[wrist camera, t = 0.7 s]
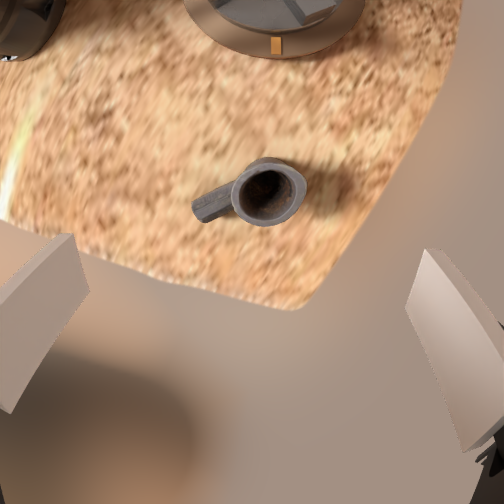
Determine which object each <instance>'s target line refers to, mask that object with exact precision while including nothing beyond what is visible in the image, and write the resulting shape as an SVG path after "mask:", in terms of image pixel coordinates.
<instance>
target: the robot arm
mask: <svg viewBox="0 0 504 504" xmlns="http://www.w3.org/2000/svg"><path fill="white" fill-rule="evenodd" d="M65 3H66V0H0V60H2V61H6V62H18V61H23V60H25V59H27V58H29V57H31V56H32V55H34V54H35V53H36V52H37V51H38V50H39V49H40V48H41V47H42V46H43V45H44V44H45V43H46V42H47V40H48V39H49V37H50V36H51V35H52V33H53V31H54V30H55V28H56V26H57V24H58V22H59V20H60V18H61V16H62V13H63V10H64V7H65ZM89 292H90V290H89V287H88V284H87V281H86V278H85V274H84V271H83V268H82V264H81V261H80V257H79V253H78V250H77V246H76V242H75V238H74V234H70V233H59V234H58V235H57V236H56V237H55V238H53V239H52V240H51V241H50V242H49V243H48V244H46V245H45V246H44V247H43V248H42V249H41V250H40V251H39V252H37V253H36V254H35V255H34V256H33V257H32V258H31V259H30V260H29V261H28V262H26V264H24V266H23V267H21V268H20V269H19V270H18V271H17V272H16V273H15V274H14V275H13V276H12V277H11V278H10V279H9V280H8V281H7V282H6V283H5V284H4V285H3V286H2V287H1V288H0V408H1V409H2V410H4V411H6V412H7V413H9V414H11V413H12V411H13V409H14V407H15V405H16V404H17V402H18V400H19V398H20V396H21V395H22V393H23V391H24V389H25V388H26V386H27V384H28V383H29V381H30V379H31V378H32V376H33V374H34V373H35V371H36V369H37V368H38V366H39V365H40V363H41V361H42V360H43V358H44V357H45V355H46V354H47V352H48V350H49V349H50V347H51V346H52V344H53V343H54V341H55V340H56V338H57V337H58V335H59V334H60V332H61V331H62V330H63V328H64V326H65V325H66V324H67V322H68V321H69V320H70V318H71V317H72V315H73V314H74V313H75V311H76V310H77V308H78V307H79V306H80V304H81V303H82V302H83V300H84V299H85V297H86V296H87V295H88V293H89ZM405 310H406V312H407V314H408V316H409V318H410V320H411V322H412V324H413V327H414V328H415V331H416V333H417V335H418V337H419V339H420V341H421V344H422V346H423V348H424V350H425V353H426V355H427V357H428V360H429V362H430V364H431V367H432V369H433V371H434V374H435V376H436V379H437V381H438V384H439V386H440V389H441V391H442V394H443V396H444V399H445V402H446V404H447V407H448V410H449V413H450V415H451V418H452V421H453V424H454V427H455V430H456V433H457V436H458V439H459V442H460V446H461V449H462V452H463V453H465V452H467V451H470V450H473V449H475V448H478V447H481V446H482V445H483V444H484V443H486V442H487V441H488V440H489V439H490V438H491V437H492V436H494V439H495V442H494V443H493V444H492V445H491V446H490V447H489V448H487V449H486V450H485V451H484V452H483V453H482V454H480V455H479V456H478V457H477V459H476V461H475V462H477V463H478V462H479V461H480V460H482V459H483V458H484V457H485V456H487V459H485V460H484V461H483V462H482V463H481V465H484V468H483V470H482V473H481V476H480V479H479V482H478V484H477V487H476V489H475V492H474V494H473V497H472V499H471V501H470V504H504V326H503V325H501V324H500V323H499V322H498V321H497V320H496V318H495V317H494V316H493V315H492V313H491V312H490V310H489V309H488V307H487V306H486V305H485V303H484V302H483V300H482V299H481V298H480V296H479V295H478V294H477V293H476V291H475V290H474V289H473V287H472V286H471V285H470V284H469V282H468V281H467V280H466V279H465V278H464V276H463V275H462V274H461V273H460V271H459V270H458V269H457V268H456V266H455V265H454V264H453V263H452V262H451V261H450V259H449V258H448V257H447V256H446V255H445V254H444V252H443V251H442V250H441V249H427V248H425V249H424V252H423V256H422V259H421V262H420V266H419V269H418V272H417V275H416V278H415V281H414V284H413V287H412V290H411V292H410V295H409V298H408V301H407V303H406V306H405ZM0 504H5V502H4V498H3V495H2V490H1V486H0Z"/></svg>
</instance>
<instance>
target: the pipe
mask: <svg viewBox="0 0 504 504" xmlns="http://www.w3.org/2000/svg"><path fill="white" fill-rule="evenodd" d="M306 192H307V180H306V179H305V177H304V176H303V175H301V174H300V173H299V172H298V171H296V170H295V169H294V168H293V167H291V166H288V165H287V164H286V163H284V162H283V161H281V160H279V159H276V158H272V157H264V158H261V159H258V160H256V161H254V162H252V163H251V164H250V165H249V166H248V167H247V168H246V169H245V171H244V172H243V173H242V174H241V175H240V176H239V177H238V178H237V180H235V181H232V182H230V183H228V184H225V185H223V186H221V187H219V188H217V189H215V190H213V191H211V192H209V193H207V194H205V195H203V196H201V197H199V198H198V199H196V200H194V201H192V203H191V206H192V211H193V213H194V214H195V216H196V218H197V219H198V220H199V221H200V222H202V223H208V222H210V221H212V220H214V219H216V218H218V217H220V216H222V215H224V214H227V213H228V212H230V211H232V210H234V211H235V212H236V213H237V214H238V215H239V217H241V218H242V219H243V220H245V221H246V222H248V223H251V224H253V225H256V226H262V227H268V226H273V225H277V224H279V223H282V222H284V221H286V220H288V219H289V218H290V217H291V216H292V215H293V214H294V213H295V212H296V211H297V210H298V208H299V207H300V205H301V203H302V201H303V199H304V197H305V195H306Z"/></svg>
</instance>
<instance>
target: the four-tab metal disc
mask: <svg viewBox="0 0 504 504" xmlns="http://www.w3.org/2000/svg"><path fill="white" fill-rule="evenodd" d="M207 1H208V2H209V4H210V5H211V6H212V8H213V9H214V10H215V11H216V12H217V13H218V14H219V15H220V16H221V17H222V18H224V19H225V20H227V21H228V22H230V23H231V24H234V25H236V26H238V27H240V28H243V29H245V30H248V31H252V32H256V33H262V34H273V35H280V34H291V33H297V32H301V31H305V30H308V29H310V28H313V27H315V26H317V25H319V24H321V23H322V22H324V21H325V20H327V19H328V18H329V17H330V16H331V15H332V14H333V13H334V12H335V11H336V9H337V8H338V7H339V5H340V4H341V3H342V1H343V0H207Z"/></svg>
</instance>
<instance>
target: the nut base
mask: <svg viewBox="0 0 504 504" xmlns="http://www.w3.org/2000/svg"><path fill="white" fill-rule="evenodd" d="M183 1H184V4H185V7H186V9H187V11H188V13H189V15H190V16H191V18H192V19H193V21H194V22H195V23H196V24H197V25H198V26H199V28H200V29H202V30H203V31H204V32H205V33H206V34H207V35H208V36H209V37H211V38H212V39H213V40H215V41H216V42H218V43H219V44H221V45H223V46H225V47H227V48H229V49H231V50H233V51H236V52H239V53H241V54H245V55H249V56H253V57H259V58H268V59H288V58H295V57H301V56H305V55H309V54H313V53H315V52H318V51H321V50H323V49H325V48H327V47H329V46H331V45H332V44H334V43H335V42H337V41H338V40H339V39H341V38H342V37H343V36H344V35H345V34H346V33H347V32H348V31H349V30H350V29H351V28H352V27H353V26H354V25H355V23H356V22H357V21H358V19H359V17H360V15H361V13H362V11H363V8H364V5H365V0H343V1H342V3H341V4H340V5H339V7H338V8H337V9H336V11H335V12H334V13H333V14H332V15H331V16H330V17H329V18H328V19H327V20H325V21H324V22H322V23H321V24H319V25H317V26H315V27H313V28H310V29H308V30H305V31H301V32H297V33H291V34H280V35H273V34H262V33H256V32H252V31H248V30H245V29H243V28H240V27H238V26H236V25H234V24H231V23H230V22H228V21H227V20H225V19H224V18H222V17H221V16H220V15H219V14H218V13H217V12H216V11H215V10H214V9H213V8H212V6H211V5H210V4H209V2H208V1H207V0H183Z"/></svg>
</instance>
